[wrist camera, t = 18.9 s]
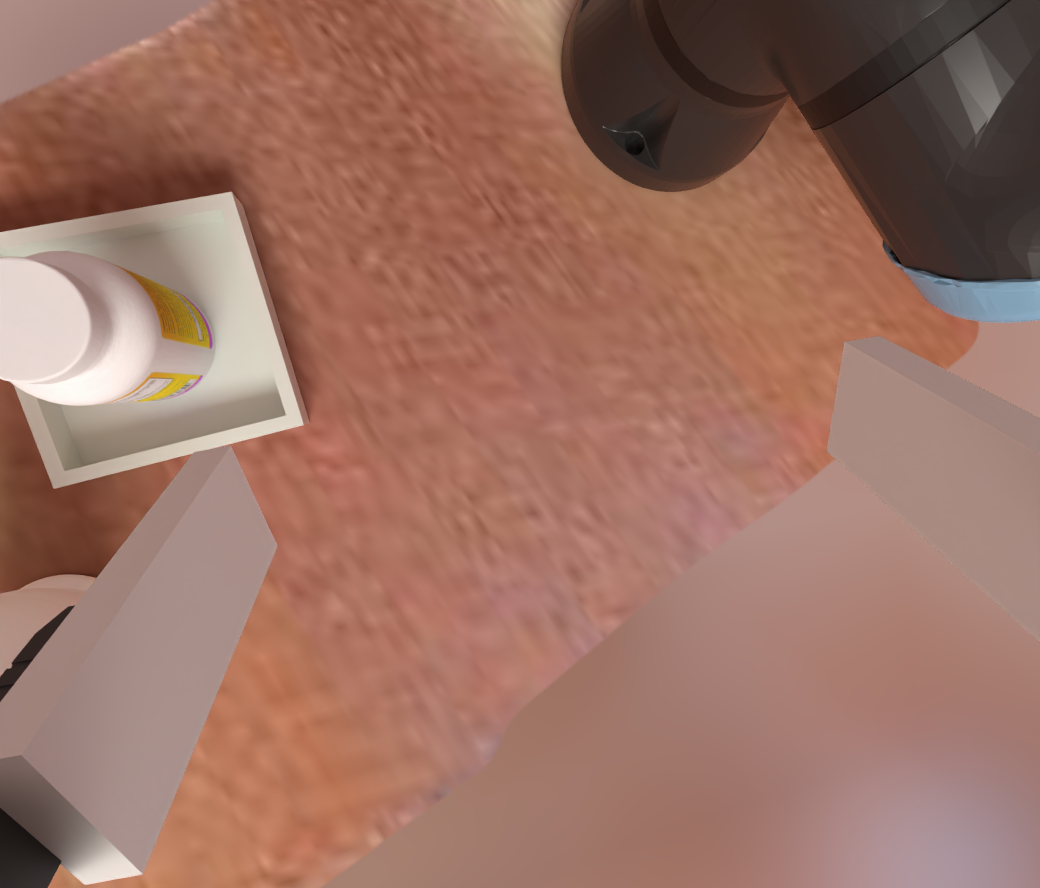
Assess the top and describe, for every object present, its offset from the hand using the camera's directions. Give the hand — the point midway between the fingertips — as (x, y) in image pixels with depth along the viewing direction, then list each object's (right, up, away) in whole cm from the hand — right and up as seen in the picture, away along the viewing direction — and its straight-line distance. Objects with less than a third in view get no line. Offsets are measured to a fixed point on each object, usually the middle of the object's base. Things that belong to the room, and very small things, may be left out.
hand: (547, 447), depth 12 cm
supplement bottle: (-22, +6, +21) cm, 31 cm away
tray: (-22, +6, +22) cm, 32 cm away
